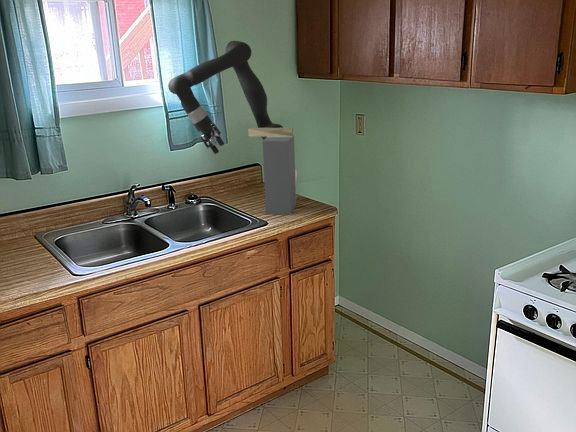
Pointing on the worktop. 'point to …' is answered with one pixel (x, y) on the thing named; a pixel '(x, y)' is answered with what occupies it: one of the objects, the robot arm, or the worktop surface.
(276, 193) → the tall grey upright prism
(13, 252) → the worktop surface
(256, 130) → the birch slat
